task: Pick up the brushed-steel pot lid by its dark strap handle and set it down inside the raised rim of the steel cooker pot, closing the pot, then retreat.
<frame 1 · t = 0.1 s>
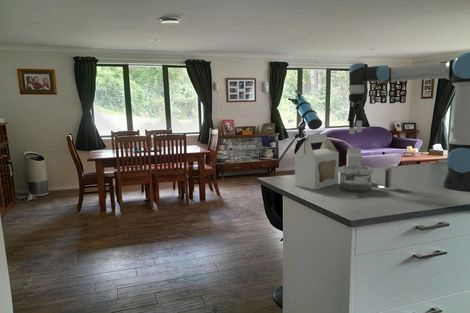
hand: (355, 133, 186), 28 cm above the table, fingers open, 13 cm apart
lid: (387, 188, 176), on the table
gable box: (316, 185, 189), on the table
pot: (355, 188, 176), on the table
milk carton: (353, 181, 195), on the table
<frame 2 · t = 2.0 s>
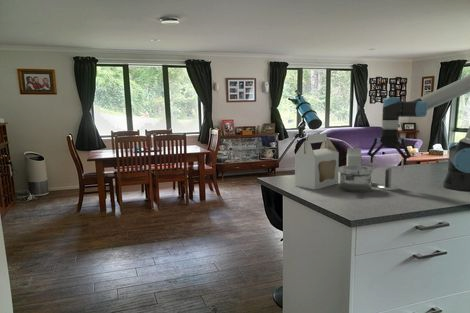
hand: (387, 170, 175), 9 cm above the table, fingers open, 13 cm apart
nothing on the table moved.
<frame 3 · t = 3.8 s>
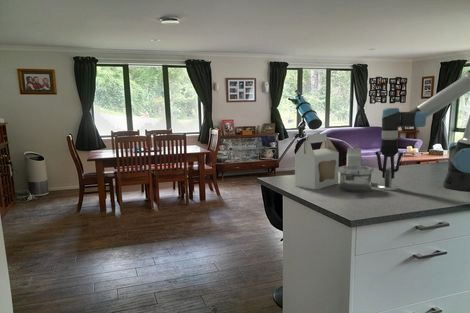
hand: (388, 184, 176), 2 cm above the table, fingers closed on lid, 2 cm apart
lid: (387, 188, 176), on the table, touching gripper
everything else where it was.
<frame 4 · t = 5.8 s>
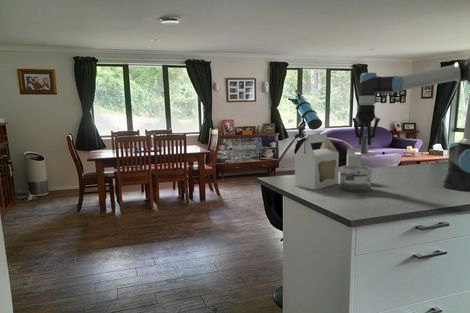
hand: (364, 151, 174), 19 cm above the table, fingers closed on lid, 2 cm apart
lid: (364, 155, 174), point 17 cm above the table, touching gripper
everything else where it was.
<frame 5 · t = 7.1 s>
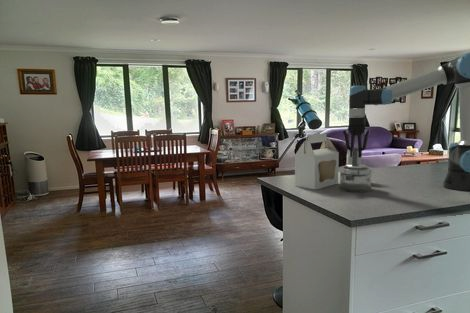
hand: (355, 163, 175), 13 cm above the table, fingers closed on lid, 2 cm apart
lid: (355, 167, 175), point 11 cm above the table, touching gripper
everything else where it was.
when the fingers open (12 cm above the table, at t = 7.8 s): lid stays where it is, resting on pot.
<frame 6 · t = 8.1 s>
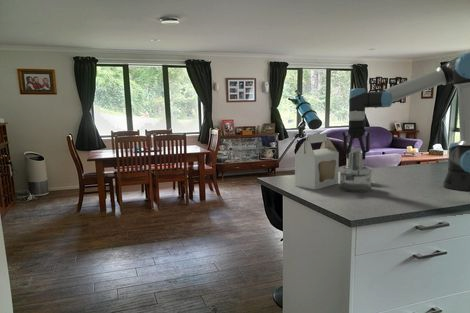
hand: (355, 165, 175), 12 cm above the table, fingers open, 5 cm apart
lid: (355, 171, 175), point 9 cm above the table, touching pot
everything else where it was.
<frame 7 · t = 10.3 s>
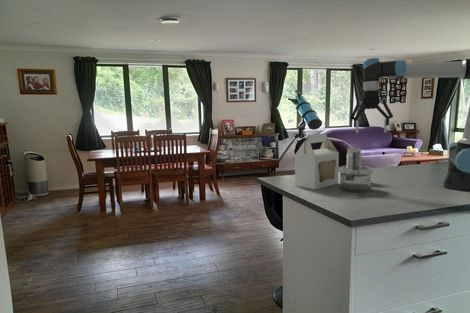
hand: (371, 132, 175), 29 cm above the table, fingers open, 13 cm apart
nothing on the table moved.
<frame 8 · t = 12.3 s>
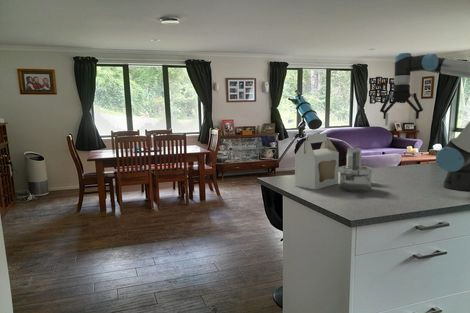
hand: (400, 125, 180), 32 cm above the table, fingers open, 13 cm apart
nothing on the table moved.
at the end: lid 0.0 cm off-centre on the pot, point 9.0 cm above the pot's base; lid tilted 0° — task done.
